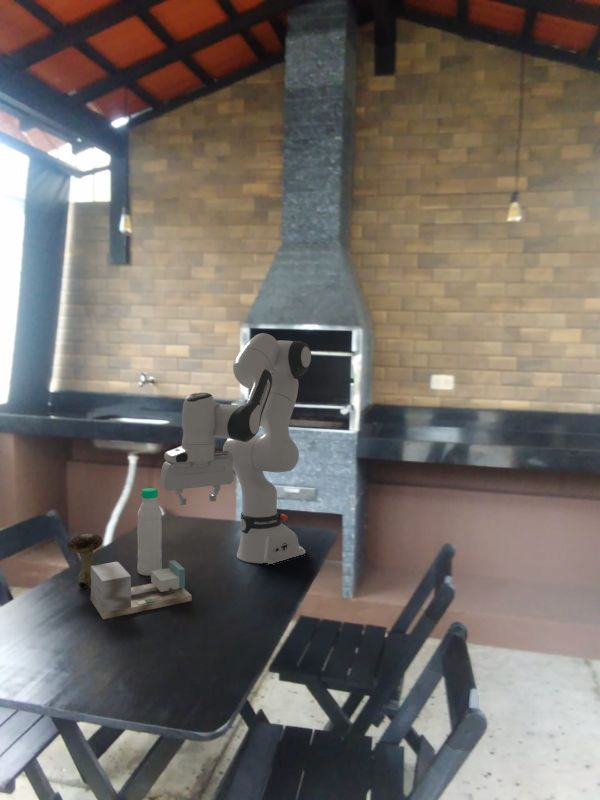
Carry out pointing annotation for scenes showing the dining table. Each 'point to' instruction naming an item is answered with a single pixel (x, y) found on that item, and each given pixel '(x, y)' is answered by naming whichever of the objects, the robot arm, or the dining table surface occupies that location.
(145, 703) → the dining table surface
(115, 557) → the dining table surface
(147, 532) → the water bottle
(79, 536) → the mushroom
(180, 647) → the dining table surface
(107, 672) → the dining table surface
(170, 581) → the block with teal panel
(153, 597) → the frame
